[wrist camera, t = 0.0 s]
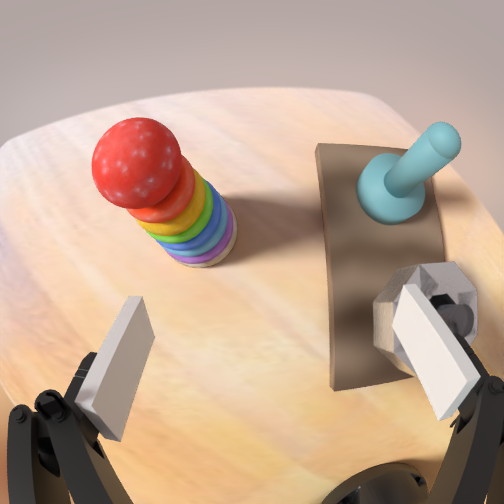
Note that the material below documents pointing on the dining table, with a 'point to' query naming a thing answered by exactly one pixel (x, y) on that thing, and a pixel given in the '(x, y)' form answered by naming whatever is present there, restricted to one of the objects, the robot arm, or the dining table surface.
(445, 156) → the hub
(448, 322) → the stand rod
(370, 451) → the dining table surface
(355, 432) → the dining table surface
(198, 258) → the stacking toy
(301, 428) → the dining table surface
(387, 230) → the walnut board
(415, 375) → the steel ring
